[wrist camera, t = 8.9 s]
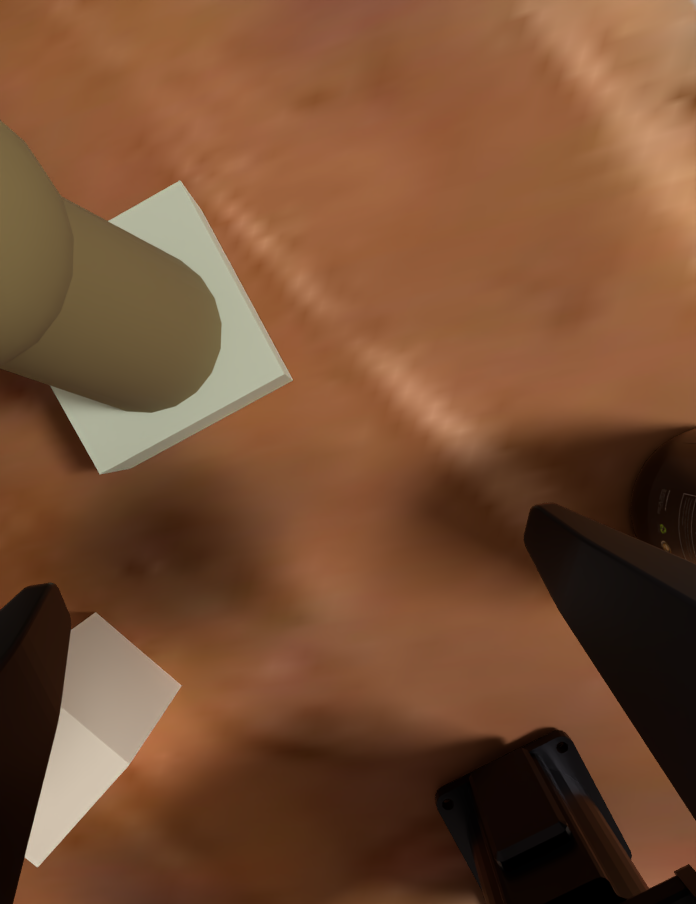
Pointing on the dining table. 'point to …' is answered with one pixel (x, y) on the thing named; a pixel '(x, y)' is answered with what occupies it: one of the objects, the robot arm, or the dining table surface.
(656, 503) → the supplement bottle
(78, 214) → the cork
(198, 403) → the base brick
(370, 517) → the dining table surface
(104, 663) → the brick
